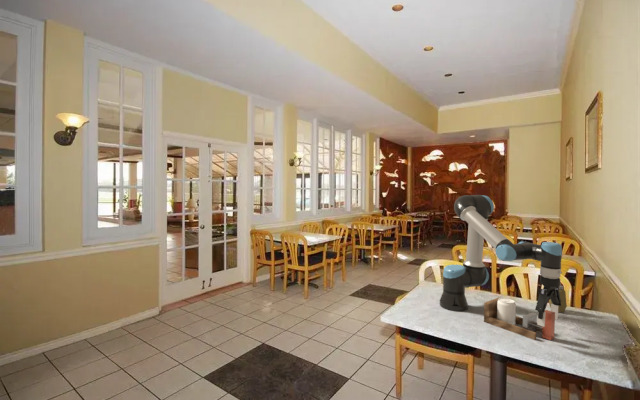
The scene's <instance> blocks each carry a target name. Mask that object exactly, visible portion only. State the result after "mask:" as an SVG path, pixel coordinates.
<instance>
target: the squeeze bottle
mask: <svg viewBox="0 0 640 400" xmlns="http://www.w3.org/2000/svg"><path fill="white" fill-rule="evenodd" d="M559 293H560V299H561V306H559V305H558V306H559V308H558V313H565V311H566V308H567V306H568V305H567V296H566V295H567V294H566V290H565V289H564V285H562V283H561V281H560V286H559ZM548 304H549V308H551V304H552V301H551V299H550V300H549V301H548Z"/></svg>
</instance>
